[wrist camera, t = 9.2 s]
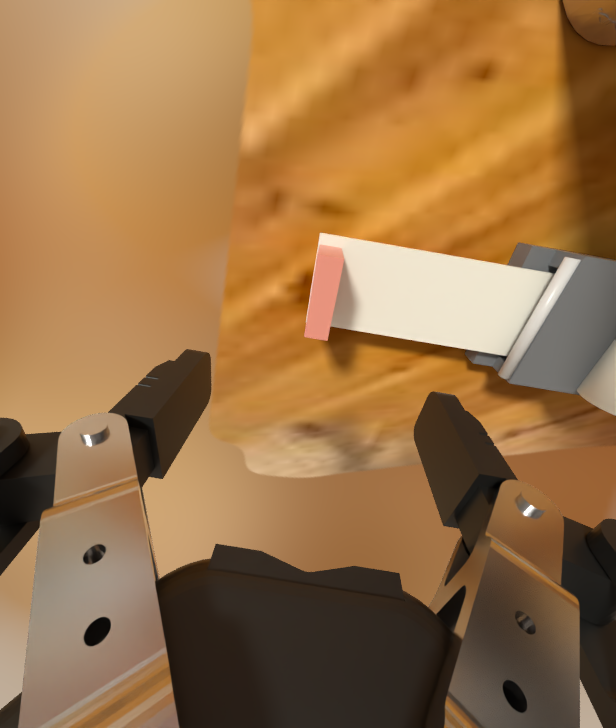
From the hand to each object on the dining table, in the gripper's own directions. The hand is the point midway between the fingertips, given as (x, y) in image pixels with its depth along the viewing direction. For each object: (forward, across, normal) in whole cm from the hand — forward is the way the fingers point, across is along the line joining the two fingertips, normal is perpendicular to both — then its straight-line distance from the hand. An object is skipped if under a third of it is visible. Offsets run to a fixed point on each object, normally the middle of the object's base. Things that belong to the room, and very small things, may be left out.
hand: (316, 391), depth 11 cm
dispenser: (+19, -23, 0) cm, 30 cm away
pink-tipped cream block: (+17, -9, 0) cm, 19 cm away
